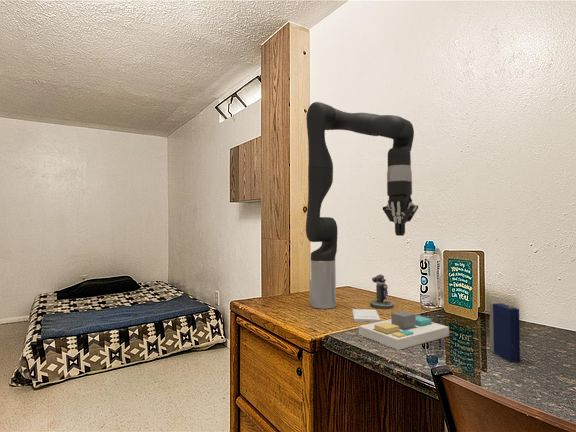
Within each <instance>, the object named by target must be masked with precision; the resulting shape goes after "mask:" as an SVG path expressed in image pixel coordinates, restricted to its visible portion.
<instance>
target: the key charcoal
mask: <svg viewBox="0 0 576 432" xmlns="http://www.w3.org/2000/svg"><path fill="white" fill-rule="evenodd" d="M390 316H391V317H390V319H391V324H394V325H397V326H400V327H403V328H406V327H411V326H415V325H416V316H417V315H416V314H415V313H412V312H408V311H404V310H400V311H395V312H391V315H390Z"/></svg>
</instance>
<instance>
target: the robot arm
mask: <svg viewBox="0 0 576 432" xmlns="http://www.w3.org/2000/svg"><path fill="white" fill-rule="evenodd" d="M339 130H340V131H348V132H353V133H357V134H361V135H366V136H372V137H379V136H380V137H384V138H387V139H391V140H393V141H392V147H391V148H390V149H389V150H388V151H387V172H386V193H387V196H388V200H387V205H385V206H382V210H383V212H384V214H385V215H386V217H387V219H388V221H389V222H392V223H393V224H394V233H395V235H396V236H398V237H399V236H402V237H403V236H405V234H406V223H408V222H411V221H412V219H413V217H414V216H415V214H416V213H417V211H418V209H419V205H417V204H414V203H413V199H412V197H411V196H412V195H413V179H412V178H413V177H412V173H413V171H412V164H411V163H412V160H411V159H412V157H411V156H412V155H411V151H412V148H413V142H414V136H415V131H414V130H415V129H414V126H413V123H412V122H411V121H410V120H408V119H405V118H403V117H402V116H399V115H394V114H393V115H392V114H391V115H390V114H381V115H380V114H377V113H370V112H346V111H343V110H340V109H337V108H335V107H333V106H331V105H330V104H327V103H324V102H320V101H314V102H312V103H311V104H310V105H309V107H308V109H307V111H306V131H307V145H308V150H307V151H308V154H307V155H308V167H307V168H308V170H307V178H308V179H307V180H308V181H307V182H308V183H307V184H308V185H307V187H308V189H307V190H308V193H307V196H308V197H307V208H306V209H307V210H306V220H305V234H306V238H307V240H308V241H309V242H311V243H321V245H320V247H318V248H317V249H315V250H313V251H312V252H311V253H310V279H309V305H310V306H311V307H312V308H315V309H322V310H323V309H324V310H325V309H334V308H336V306H337V293H336V292H337V291H336V289H337V288H336V287H337V286H336V285H337V283H336V282H337V281H336V280H337V279H336V277H337V275H336V274H337V273H336V255H337V252H338V224H337V222H336V220H335V219H334V217H329V216H328V217H326V216H321V208H322V204H323V201H324V200H325V197H326V196H327V194H328V193H329V191H330V189H331V187H332V185H333V182H334V163H333V159H332V157H331V153H330V151H329V149H328V145H327V142H326V137H325V135H326V133H325V131H339Z"/></svg>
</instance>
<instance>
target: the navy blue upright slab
mask: <svg viewBox="0 0 576 432" xmlns="http://www.w3.org/2000/svg"><path fill="white" fill-rule="evenodd" d="M488 326H489V351H490V352H492V353H493V354H494V355H496V356H499V357H500V358H503V359H504V360H505V361H508V362H510V363H521V343H520V341H521V337H520V334H521V333H520V309H519V308H517V307H515V306H514V305H508V304H505V303H501V302H498V301H493V302H490V303H489V325H488Z"/></svg>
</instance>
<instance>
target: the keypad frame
mask: <svg viewBox="0 0 576 432" xmlns="http://www.w3.org/2000/svg"><path fill="white" fill-rule="evenodd" d="M385 322H387V323H391V318H390V319H386V320H381V322H370V323H366V324H363V325H358V335H359V336H360V335H362V336H361V337H363V336H364V337H363V338H365V337H366V338H365V339H368V338H369V339H368V340H370V339H371V341H373V340H374V341H373V342H376V341H377V342H376V343H378V342H379V343H378V344H381V345H383V346H386V347H389V348H391V347H392V349H394V348H395V349H394V350H397V351H400V350H403V349H407V348H411V347H414V346H417V345H421V344H426V343H429V342H432V341H436V340H439V339H443V338H447V337H450V327H449V325H448V326H447V325H444V324H440V323H436V322H433V321H431V324H430V325H426V326H422V327H420V326H417V325H415V326H411V327H406V328H403V327H400V326H399V332H395V333H391V334H388V335H386V334H383V333H381V332H378V331H375V330H374V325H376V324H380V323H385Z"/></svg>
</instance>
